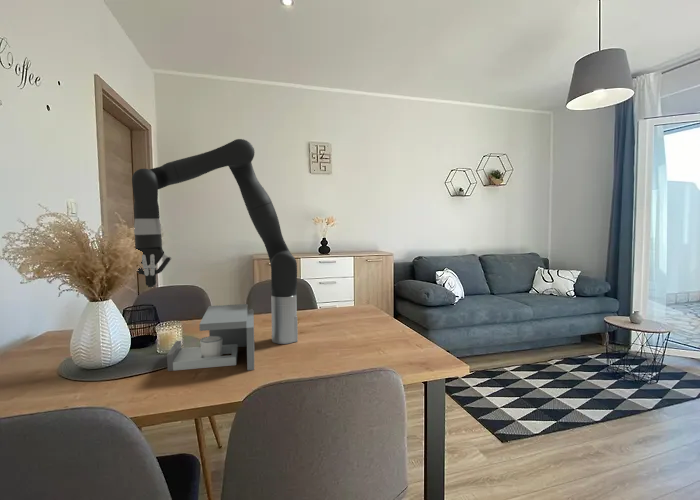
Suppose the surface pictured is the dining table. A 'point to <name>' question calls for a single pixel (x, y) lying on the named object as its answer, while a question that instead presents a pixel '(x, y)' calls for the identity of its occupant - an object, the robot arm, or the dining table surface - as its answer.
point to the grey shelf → (232, 326)
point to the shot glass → (211, 346)
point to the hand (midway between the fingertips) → (151, 286)
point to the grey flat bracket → (199, 357)
